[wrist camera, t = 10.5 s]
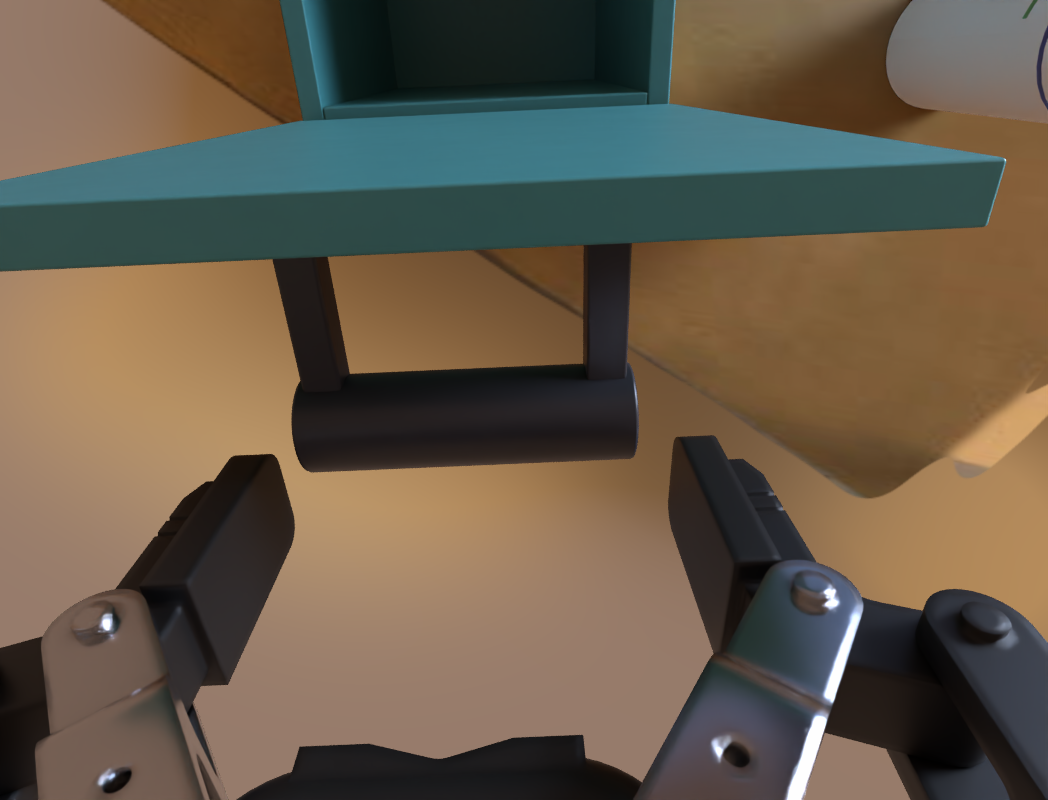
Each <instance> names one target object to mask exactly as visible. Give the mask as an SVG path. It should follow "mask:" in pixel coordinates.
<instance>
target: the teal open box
mask: <svg viewBox="0 0 1048 800" xmlns="http://www.w3.org/2000/svg"><path fill="white" fill-rule="evenodd" d="M279 1H280V6H281V11H282V16H283V21H284V26H285V31H286V36H287V41H288V47H289V52H290V57H291V62H292V67H293V72H294V77H295V82H296V87H297V93H298V98H299V103H300V108H301V113H302V118H303V121H310V120H331V119H352V118H374V117H395V116H417V115H438V114H460V113H481V112H503V111H524V110H546V109H567V108H589V107H610V106H632V105H653V104H669V93H670V78H671V63H672V47H673V32H674V17H675V1H676V0H279Z"/></svg>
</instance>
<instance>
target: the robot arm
mask: <svg viewBox="0 0 1048 800" xmlns="http://www.w3.org/2000/svg"><path fill="white" fill-rule="evenodd" d="M668 510H669V519H670V525H671V529H672V532H673V535H674V538H675V541H676V544H677V547H678V550H679V553H680V556H681V559H682V562H683V565H684V567H685V571H686V573H687V576H688V579H689V582H690V585H691V588H692V591H693V594H694V597H695V600H696V603H697V606H698V609H699V612H700V614H701V617H702V620H703V623H704V626H705V629H706V632H707V635H708V638H709V641H710V644H711V647H712V650H713V653H714V654H713V655H712V656H711V658H710V659H709V661H708V663H707V665H706V666H705V668H704V670H703V672H702V674H701V675H700V677H699V679H698V681H697V683H696V685H695V686H694V688H693V690H692V692H691V694H690V696H689V698H688V699H687V701H686V703H685V705H684V707H683V709H682V710H681V712H680V714H679V716H678V718H677V720H676V722H675V723H674V725H673V727H672V729H671V731H670V733H669V734H668V736H667V738H666V740H665V742H664V743H663V745H662V747H661V749H660V751H659V753H658V754H657V756H656V758H655V760H654V762H653V764H652V766H651V767H650V769H649V771H648V773H647V775H646V776H645V778H644V780H643V782H640V781H639V780H637V779H636V778H634V777H633V776H631V775H629V774H627V773H625V772H623V771H621V770H619V769H617V768H615V767H612V766H610V765H607V764H604V763H602V762H599V761H594V760H591V759H587V758H585V749H584V739H583V735H569V736H545V737H522V738H511V739H508V740H504V741H501V742H498V743H494V744H491V745H488V746H484V747H481V748H478V749H475V750H471V751H468V752H465V753H461V754H458V755H454V756H451V757H448V758H443V759H433V758H428V757H424V756H419V755H415V754H411V753H406V752H402V751H397V750H394V749H389V748H385V747H380V746H376V745H371V744H355V745H333V746H332V745H330V746H306V747H299V751H298V754H297V757H296V760H295V764H294V767H293V770H292V772H291V773H287V774H284V775H282V776H279V777H277V778H275V779H272V780H270V781H267V782H265V783H264V784H262V785H260V786H258V787H256V788H254V789H252V790H250V791H249V792H247V793H246V794H244V795H243V796H241V797H240V798H238V799H237V800H803V798H804V796H805V792H806V789H807V786H808V783H809V780H810V777H811V774H812V770H813V768H814V764H815V761H816V758H817V755H818V752H819V749H820V746H821V743H822V740H823V736H824V733H828V734H832V735H836V736H840V737H843V738H847V739H851V740H855V741H859V742H863V743H866V744H870V745H874V746H878V747H881V748H886V749H887V752H888V754H889V756H890V758H891V760H892V762H893V764H894V766H895V768H896V770H897V772H898V774H899V777H900V779H901V780H902V783H903V785H904V787H905V789H906V791H907V793H908V795H909V797H910V799H911V800H1048V643H1047V642H1046V640H1045V639H1044V638H1043V637H1042V636H1041V635H1040V633H1039V632H1038V631H1037V630H1036V629H1035V627H1034V626H1033V625H1032V624H1031V623H1030V622H1029V621H1028V620H1027V619H1026V618H1025V617H1024V616H1022V615H1021V614H1020V613H1019V612H1017V611H1016V610H1014V609H1013V608H1011V607H1009V606H1008V605H1006V604H1004V603H1003V602H1001V601H998V600H996V599H994V598H992V597H989V596H987V595H983V594H981V593H977V592H973V591H968V590H961V589H949V590H942V591H939V592H936V593H934V594H933V595H932V596H930V597H929V598H928V600H927V601H926V604H925V607H924V609H923V611H921V610H916V609H911V608H906V607H901V606H896V605H891V604H886V603H880V602H877V601H872V600H869V599H866V598H863V597H861V595H860V593H859V591H858V590H857V588H856V587H855V586H854V585H853V583H852V582H851V581H849V580H848V579H847V578H846V577H845V576H843V575H842V574H841V573H839V572H837V571H836V570H834V569H832V568H830V567H827V566H825V565H823V564H819V563H817V562H816V561H815V559H814V557H813V556H812V554H811V552H810V551H809V549H808V548H807V546H806V544H805V542H804V541H803V539H802V538H801V536H800V534H799V533H798V531H797V529H796V528H795V526H794V524H793V523H792V521H791V519H790V518H789V516H788V514H787V513H786V511H785V510H783V506H782V505H781V503H780V501H779V500H778V498H777V496H776V495H775V496H774V492H773V490H772V488H771V487H770V485H769V483H768V482H767V480H766V478H765V477H764V475H763V474H762V473H761V472H760V471H758V470H757V469H755V468H754V467H753V466H752V465H750V464H749V463H748V462H746V461H745V460H744V459H732V460H731V459H730V460H728V459H727V457H726V455H725V453H724V451H723V449H722V448H721V446H720V444H719V442H718V440H717V438H716V437H715V436H712V435H710V436H688V437H676V438H675V440H674V444H673V453H672V465H671V475H670V486H669V498H668ZM294 530H295V524H294V515H293V511H292V507H291V504H290V500H289V497H288V494H287V490H286V486H285V483H284V479H283V476H282V472H281V469H280V465H279V462H278V460H277V458H276V457H275V456H274V455H273V454H264V455H263V454H261V455H239V456H233V457H231V458H230V459H229V461H228V462H227V463H226V465H225V466H224V468H223V469H222V470H221V472H220V473H219V475H218V476H217V478H216V479H215V480H214V481H210V482H205V483H204V484H202V485H201V486H200V487H198V488H197V489H196V490H194V491H193V492H192V493H190V494H189V495H188V496H186V497H185V498H184V499H183V500H182V501H181V502H180V504H179V505H178V506H177V508H176V509H175V510H174V512H173V513H172V514H171V516H170V520H169V521H166V522H165V524H164V525H163V526H162V528H161V529H160V530H159V532H158V536H157V537H154V538H153V540H152V541H151V542H150V544H149V545H148V546H147V548H146V549H145V550H144V552H143V553H142V554H141V555H140V557H139V558H138V560H137V561H136V562H135V564H134V565H133V566H132V567H131V569H130V570H129V571H128V573H127V574H126V575H125V577H124V578H123V579H122V581H121V582H120V584H119V585H118V586H117V587H116V589H115V590H109V591H105V592H102V593H98V594H96V595H93V596H90V597H88V598H86V599H84V600H82V601H80V602H78V603H77V604H75V605H73V606H72V607H70V608H69V609H67V610H66V611H64V612H63V613H62V614H61V615H60V616H59V617H57V618H56V619H55V620H54V621H53V622H52V624H51V625H50V626H49V627H48V629H47V630H46V632H45V634H44V635H43V637H39V638H35V639H32V640H28V641H25V642H21V643H17V644H13V645H10V646H6V647H3V648H0V800H38V799H39V800H229V799H228V797H227V794H226V791H225V788H224V786H223V783H222V780H221V777H220V774H219V771H218V768H217V766H216V763H215V760H214V757H213V754H212V751H211V748H210V745H209V742H208V740H207V737H206V734H205V731H204V728H203V725H202V723H201V719H200V717H199V714H198V711H197V709H196V707H195V704H194V702H193V701H194V699H195V697H196V694H197V693H198V691H199V689H200V687H201V686H208V685H209V686H210V685H228V683H229V681H230V679H231V677H232V674H233V672H234V670H235V668H236V666H237V664H238V662H239V659H240V657H241V655H242V653H243V651H244V648H245V646H246V644H247V642H248V640H249V637H250V635H251V633H252V631H253V629H254V627H255V624H256V622H257V620H258V618H259V615H260V613H261V611H262V609H263V607H264V605H265V602H266V600H267V598H268V596H269V593H270V591H271V589H272V587H273V585H274V583H275V580H276V578H277V576H278V574H279V572H280V569H281V567H282V565H283V563H284V561H285V559H286V556H287V554H288V552H289V550H290V548H291V545H292V542H293V538H294Z"/></svg>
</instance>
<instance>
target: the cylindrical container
mask: <svg viewBox="0 0 1048 800" xmlns="http://www.w3.org/2000/svg"><path fill="white" fill-rule="evenodd" d="M886 69H887V77H888V79H889V82H890V85H891V87H892V89H893V90H894V92H895V93H896V95H897V96H898V97H899V98H900V99H902V100H903V101H904V102H905V103H907V104H909V105H912V106H914V107H918V108H923V109H932V110H940V111H948V112H957V113H965V114H973V115H982V116H990V117H998V118H1007V119H1015V120H1023V121H1032V122H1040V123H1048V0H912V1H911V2H910V4H909V5H908V6H907V7H906V9H905V10H904V11H903V13H902V14H901V16H900V18H899V19H898V21H897V23H896V25H895V27H894V29H893V32H892V34H891V37H890V39H889V44H888V48H887V54H886Z"/></svg>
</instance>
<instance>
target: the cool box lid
mask: <svg viewBox="0 0 1048 800" xmlns="http://www.w3.org/2000/svg"><path fill="white" fill-rule="evenodd" d="M1005 164H1006V159H1004V158H1002V157H996V156H990V155H984V154H978V153H972V152H965V151H959V150H953V149H947V148H941V147H935V146H928V145H922V144H916V143H910V142H904V141H898V140H892V139H885V138H879V137H873V136H867V135H861V134H855V133H848V132H842V131H836V130H830V129H824V128H818V127H812V126H805V125H799V124H793V123H787V122H781V121H775V120H768V119H762V118H756V117H750V116H744V115H738V114H731V113H725V112H719V111H713V110H707V109H701V108H695V107H688V106H682V105H676V104H653V105H632V106H610V107H589V108H567V109H546V110H524V111H503V112H481V113H460V114H438V115H417V116H395V117H374V118H352V119H331V120H310V121H297V122H292V123H287V124H282V125H277V126H272V127H267V128H262V129H257V130H252V131H247V132H242V133H237V134H233V135H227V136H222V137H217V138H212V139H207V140H202V141H197V142H192V143H187V144H182V145H177V146H172V147H167V148H162V149H157V150H152V151H147V152H142V153H137V154H132V155H127V156H122V157H117V158H112V159H107V160H102V161H97V162H92V163H87V164H82V165H77V166H72V167H67V168H62V169H57V170H52V171H47V172H42V173H37V174H32V175H27V176H22V177H17V178H12V179H7V180H2V181H0V271H19V270H20V271H21V270H44V269H66V268H87V267H110V266H131V265H154V264H176V263H198V262H218V261H219V262H221V261H243V260H265V259H273V264H274V268H275V272H276V277H277V281H278V285H279V289H280V294H281V298H282V302H283V307H284V311H285V315H286V320H287V324H288V328H289V333H290V337H291V341H292V346H293V350H294V354H295V358H296V362H297V367H298V371H299V376H300V380H301V381H300V382H299V384H298V386H297V388H296V391H295V395H294V399H293V406H292V435H293V442H294V447H295V451H296V455H297V457H298V460H299V462H300V464H301V465H302V467H303V468H304V469H305V470H307V471H309V472H332V471H353V470H354V471H355V470H379V469H398V468H399V469H400V468H426V467H447V466H448V467H449V466H472V465H496V464H518V463H541V462H566V461H586V460H587V461H589V460H610V459H611V460H612V459H631V458H633V457H634V455H635V452H636V449H637V443H638V429H639V414H638V398H637V389H636V383H635V378H634V374H633V371H632V368H631V366H630V364H629V363H627V350H628V324H629V299H630V273H631V248H632V243H642V242H664V241H686V240H709V239H731V238H753V237H775V236H797V235H820V234H842V233H864V232H886V231H908V230H930V229H953V228H975V227H984V226H986V225H987V224H988V221H989V217H990V214H991V211H992V207H993V204H994V201H995V197H996V194H997V191H998V188H999V184H1000V181H1001V178H1002V174H1003V171H1004V168H1005ZM576 245H584V297H583V364H566V365H544V366H521V367H497V368H474V369H451V370H428V371H405V372H383V373H361V374H350V373H349V367H348V362H347V358H346V352H345V346H344V341H343V336H342V331H341V325H340V320H339V315H338V310H337V304H336V299H335V294H334V289H333V284H332V278H331V273H330V268H329V262H328V257H332V256H354V255H376V254H398V253H418V252H419V253H420V252H442V251H464V250H487V249H509V248H531V247H553V246H576Z"/></svg>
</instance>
